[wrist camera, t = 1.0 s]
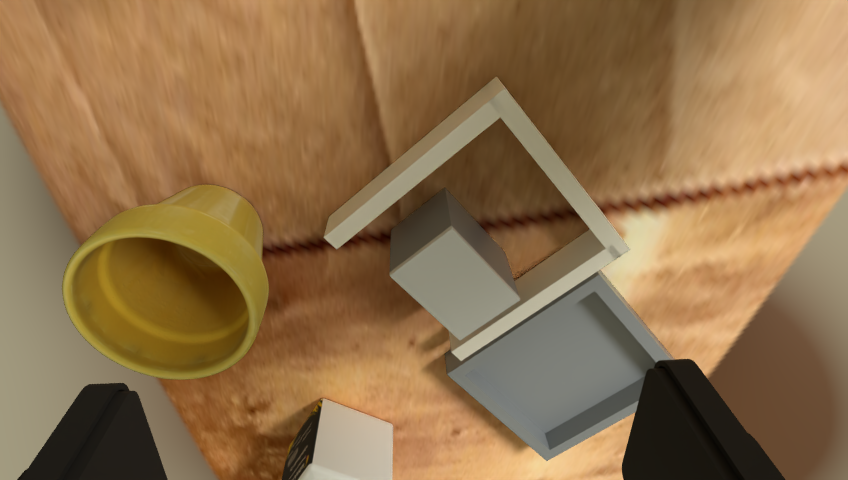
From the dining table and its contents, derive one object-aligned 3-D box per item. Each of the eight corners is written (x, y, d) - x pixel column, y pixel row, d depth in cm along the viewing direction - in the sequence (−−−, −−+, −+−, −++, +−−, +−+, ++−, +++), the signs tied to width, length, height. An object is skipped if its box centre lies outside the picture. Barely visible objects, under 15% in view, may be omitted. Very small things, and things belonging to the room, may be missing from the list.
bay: (496, 76, 33) (504, 88, 31) (615, 228, 39) (630, 249, 36) (329, 216, 38) (323, 237, 35) (457, 335, 43) (461, 361, 41)
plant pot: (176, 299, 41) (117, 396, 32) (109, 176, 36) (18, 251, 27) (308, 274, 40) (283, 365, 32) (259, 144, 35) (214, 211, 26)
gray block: (444, 187, 37) (452, 228, 32) (504, 252, 40) (520, 299, 35) (391, 229, 39) (389, 275, 33) (452, 289, 41) (460, 340, 36)
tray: (589, 256, 40) (599, 274, 38) (676, 361, 46) (689, 381, 44) (444, 353, 44) (446, 374, 42) (540, 439, 50) (546, 460, 48)
